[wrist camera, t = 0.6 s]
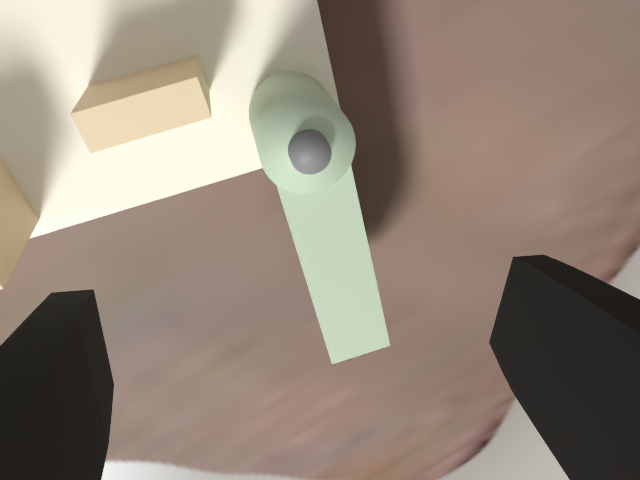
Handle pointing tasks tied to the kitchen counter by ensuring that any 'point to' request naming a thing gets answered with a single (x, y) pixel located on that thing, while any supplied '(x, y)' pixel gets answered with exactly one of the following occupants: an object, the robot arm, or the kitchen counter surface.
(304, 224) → the hinged leg
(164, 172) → the stool seat
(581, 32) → the kitchen counter surface
